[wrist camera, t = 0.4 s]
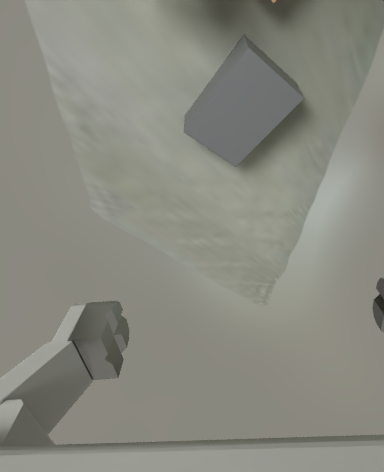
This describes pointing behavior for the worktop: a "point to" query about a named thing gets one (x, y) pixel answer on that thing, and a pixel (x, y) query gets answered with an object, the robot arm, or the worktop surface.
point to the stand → (241, 103)
